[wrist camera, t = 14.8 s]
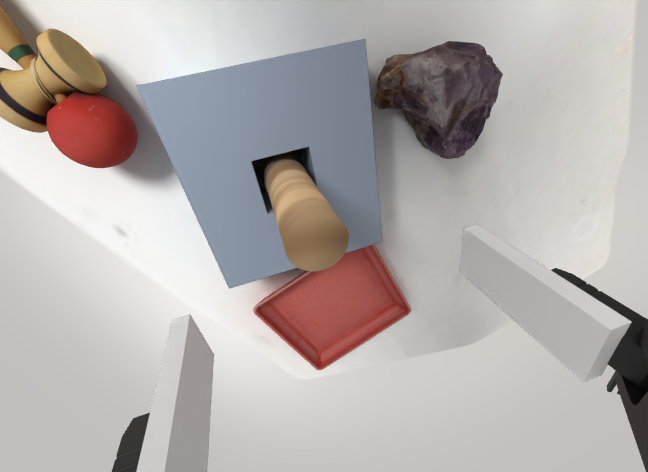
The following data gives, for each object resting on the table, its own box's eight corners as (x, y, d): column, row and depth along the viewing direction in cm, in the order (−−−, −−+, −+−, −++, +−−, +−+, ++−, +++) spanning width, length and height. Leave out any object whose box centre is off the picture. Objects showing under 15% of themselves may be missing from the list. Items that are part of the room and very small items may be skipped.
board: (154, 82, 27) (136, 85, 22) (342, 44, 29) (365, 39, 24) (229, 258, 37) (229, 288, 32) (363, 219, 40) (382, 241, 34)
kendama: (-117, -28, 21) (94, 184, 28) (-241, -94, 15) (65, 193, 23) (-15, -79, 22) (164, 139, 29) (-95, -160, 16) (152, 136, 24)
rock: (406, 153, 38) (469, 92, 36) (450, 182, 32) (529, 110, 30) (356, 82, 31) (431, 0, 29) (400, 100, 24) (501, -3, 22)
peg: (254, 150, 32) (275, 224, 17) (292, 141, 32) (345, 204, 17) (265, 186, 34) (292, 280, 19) (300, 177, 34) (354, 261, 19)
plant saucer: (358, 222, 40) (367, 233, 37) (403, 298, 50) (413, 312, 47) (248, 294, 41) (250, 310, 38) (314, 355, 51) (319, 372, 48)
